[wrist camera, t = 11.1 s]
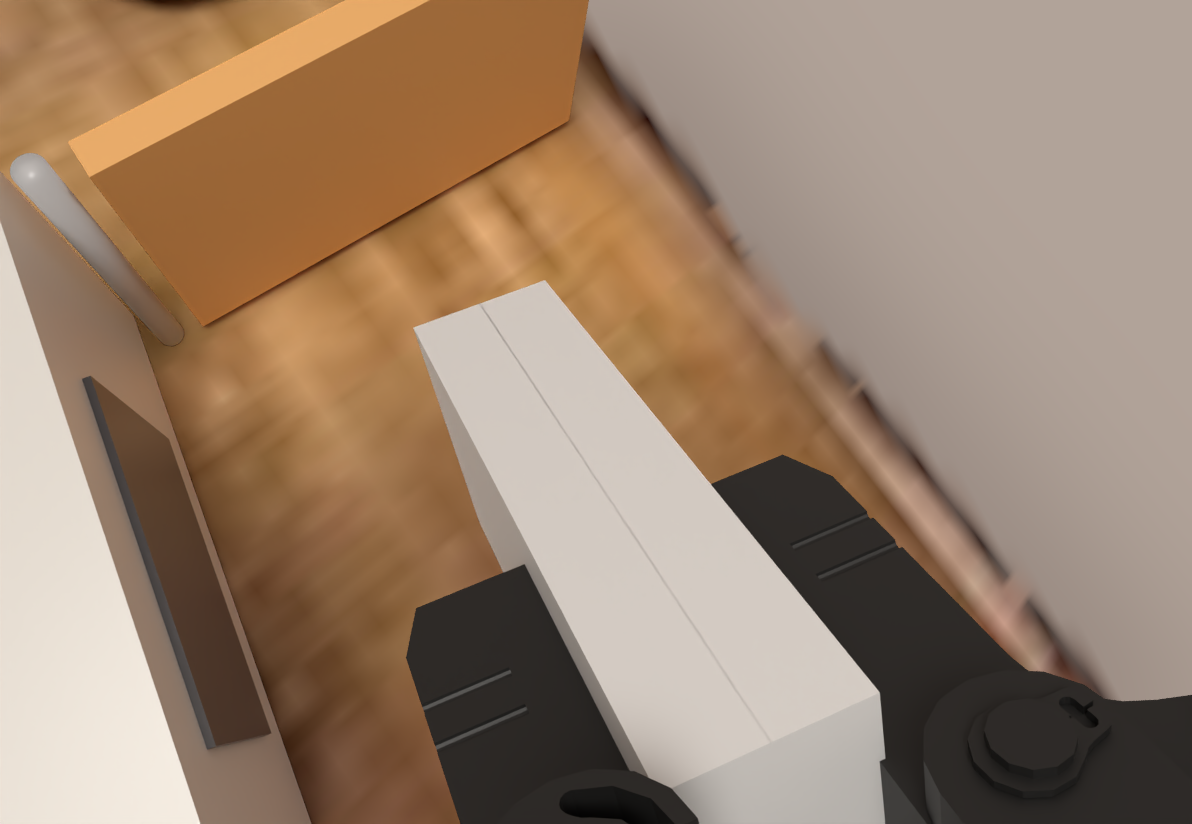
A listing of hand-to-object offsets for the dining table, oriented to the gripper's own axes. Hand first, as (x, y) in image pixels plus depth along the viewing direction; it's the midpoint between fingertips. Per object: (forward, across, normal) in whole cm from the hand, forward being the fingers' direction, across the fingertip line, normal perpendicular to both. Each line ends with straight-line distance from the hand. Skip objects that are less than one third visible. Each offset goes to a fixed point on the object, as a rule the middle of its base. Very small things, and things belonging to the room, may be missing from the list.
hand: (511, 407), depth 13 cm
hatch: (+26, -1, +7) cm, 27 cm away
